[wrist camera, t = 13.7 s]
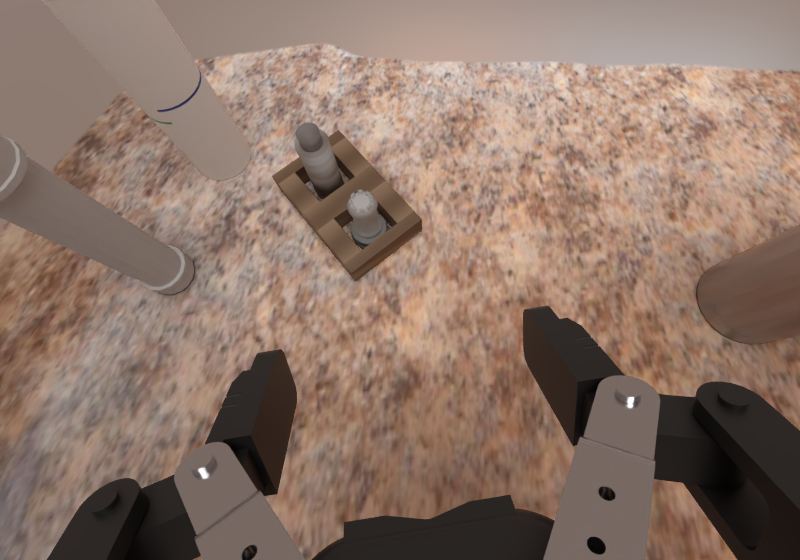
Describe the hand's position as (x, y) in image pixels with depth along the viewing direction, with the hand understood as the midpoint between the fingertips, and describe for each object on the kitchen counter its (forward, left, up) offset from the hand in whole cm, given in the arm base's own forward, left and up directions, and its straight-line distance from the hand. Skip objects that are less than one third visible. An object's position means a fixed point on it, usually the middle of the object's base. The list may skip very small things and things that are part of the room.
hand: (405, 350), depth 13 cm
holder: (-7, -22, -31) cm, 38 cm away
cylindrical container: (+1, -39, -31) cm, 50 cm away
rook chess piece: (-7, -18, -31) cm, 36 cm away
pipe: (+14, -29, -31) cm, 44 cm away
